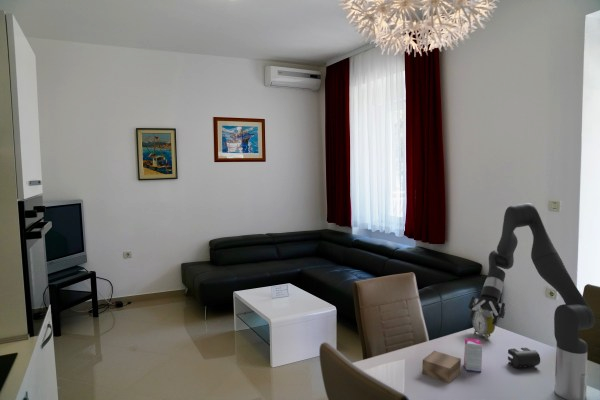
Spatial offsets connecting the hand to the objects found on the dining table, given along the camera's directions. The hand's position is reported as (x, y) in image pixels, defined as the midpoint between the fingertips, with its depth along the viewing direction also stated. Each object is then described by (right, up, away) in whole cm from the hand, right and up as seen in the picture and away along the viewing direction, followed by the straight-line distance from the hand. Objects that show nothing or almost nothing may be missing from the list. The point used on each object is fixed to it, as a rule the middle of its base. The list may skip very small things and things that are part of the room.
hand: (482, 322), depth 174 cm
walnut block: (-22, -17, -11) cm, 30 cm away
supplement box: (-8, -17, -8) cm, 20 cm away
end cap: (+14, -17, -6) cm, 23 cm away
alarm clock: (+12, -14, +25) cm, 31 cm away
